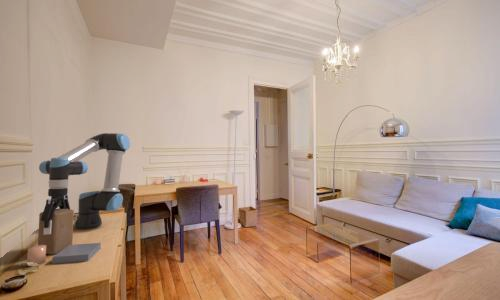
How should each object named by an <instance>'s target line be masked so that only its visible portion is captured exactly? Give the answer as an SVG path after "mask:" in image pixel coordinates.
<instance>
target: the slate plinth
mask: <svg viewBox="0 0 500 300" xmlns="http://www.w3.org/2000/svg"><path fill="white" fill-rule="evenodd" d="M101 246H102V244H101V242H94V243H93V242H92V243H77V244H72V245H69V246H67V247H66V248H65V249H63V250H62V251H60V252H59V253H56V254H54V255H53V256H52V258H51V259H52V261H51V262H52V265H53V264H54V265H55V264H68V263H79V262H88V261H90V260H91V259H92V258H93V257H94V256H95V255H96V254H97V253H98V252H99V251H100V250H101V249H102V248H101Z"/></svg>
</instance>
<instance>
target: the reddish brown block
mask: <svg viewBox="0 0 500 300" xmlns="http://www.w3.org/2000/svg"><path fill="white" fill-rule="evenodd" d="M46 256H47V254H46V245H38V244H37V245H32V246H31V247H28V248H27V260H26V263H27V262H34V263H37V264H39V265H38V266H40V265H43V264H45V263H46V261H47V259H46V258H47V257H46Z"/></svg>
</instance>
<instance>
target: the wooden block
mask: <svg viewBox="0 0 500 300" xmlns="http://www.w3.org/2000/svg"><path fill="white" fill-rule="evenodd" d="M42 214H43V211H42V212H40V213H39V215H38V217H39V218H38V219H39V220H38V236H37V237H38V239H37V245H46V255H51V256H52V255H53V256H55V255H56V254H58V253H59V252H60V251H62V250H63V249H65V248H66V247H67V246H69V245H73V238H74V237H73V236H74V235H73V234H74V209H71V208H70V209H68V208H67V209H60V208H56V210H55V212H54V214H53V216H52V218H51V220H52V227H51V234H47V235H43V233H44V221H41V217H42Z"/></svg>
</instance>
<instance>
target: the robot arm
mask: <svg viewBox="0 0 500 300" xmlns="http://www.w3.org/2000/svg"><path fill="white" fill-rule="evenodd" d="M130 146H131V141H130V137H128V136H127V135H126V133H125V134H124V133H120V132H118V133H112V132H111V133H107V132H105V133H99V134H97V135H93V136H91V137H89V138H87V139H86V140H85V141H84V142H83V143H82V144H80V145H78V146H76V147H74V148H72V149H70V150H69V151H67V152H65V153H63V154H61V155H60V156H58V157H52V158H50V160H44V161H41V162H40V164H39V166H38V169H39V171H40V174H41V173H42V174H45V175H49V176H48V177H49V178H48V192H47V196H48V197H50V199H46V202H45V206H44V209H43V211H42V212H43V214H42V217H41V221H44V233H43V235H47V234H51V227H52V220H51V218H52V216H53V214H54V212H55V210H56V209H71V206H70V202H69V198H68V197H69V196H68V187H69V176H80V175H84V174H86V173H87V172H88V170H89V166H88V164H87V162H86V161H81V160H82V159H83V158H85V157H87V156H89V155H90V154H92V153H95V152H99V151H100V150H101V151H102V150H106V152H107V154H108V156H107V163H106V169H105V176H104V182H103V188H102V189H101V190H93V191H85V192H82V193H80V194H79V195H78V215H77V218H76V220H75V222H74V226H73V229H77V230H87V229H93V228H97V227H100V226H101V225H103V224H102V223H103V221H102V217H101V215H100V212H115V211H118V210H119V209H120V208H121V206H122V205H123V202H124V201H123V200H124V196H123V194H122V193H121V190H120V189H119V185H120V177H121V171H122V170H121V169H122V161H123V155H125V153H126V151H128V150H129V148H130Z"/></svg>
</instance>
